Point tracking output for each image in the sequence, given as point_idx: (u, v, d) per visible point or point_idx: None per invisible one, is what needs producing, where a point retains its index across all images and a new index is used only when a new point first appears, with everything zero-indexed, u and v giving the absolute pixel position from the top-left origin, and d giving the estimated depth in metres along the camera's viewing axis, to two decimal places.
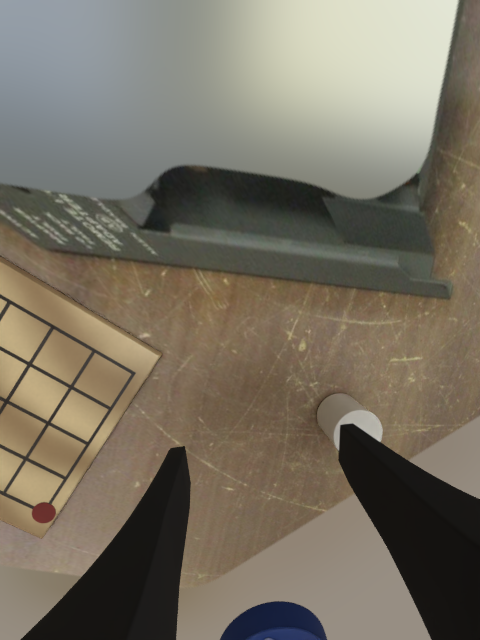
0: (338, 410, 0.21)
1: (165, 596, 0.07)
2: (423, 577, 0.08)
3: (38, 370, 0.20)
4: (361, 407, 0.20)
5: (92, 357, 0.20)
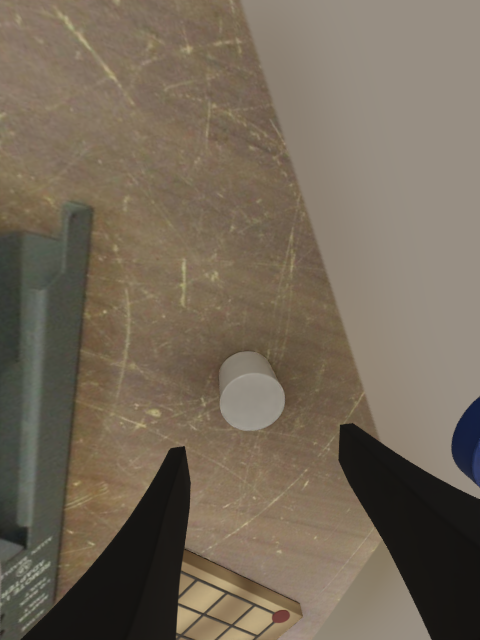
0: None
1: (165, 596, 0.07)
2: (422, 577, 0.08)
3: None
4: (221, 389, 0.16)
5: None
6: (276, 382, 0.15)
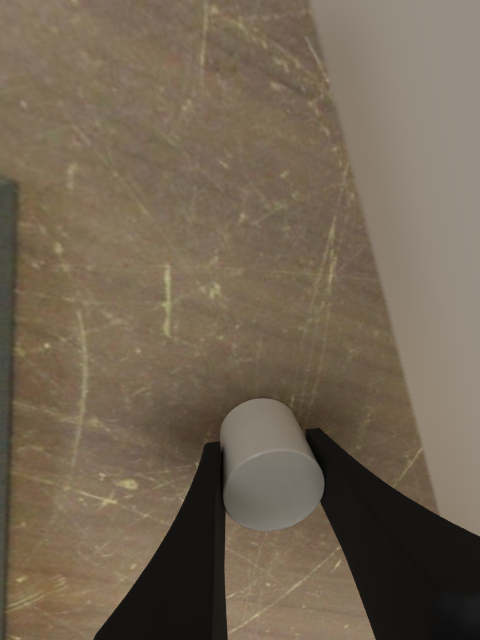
0: None
1: (221, 586, 0.07)
2: (371, 587, 0.07)
3: None
4: (225, 470, 0.10)
5: None
6: (312, 461, 0.10)
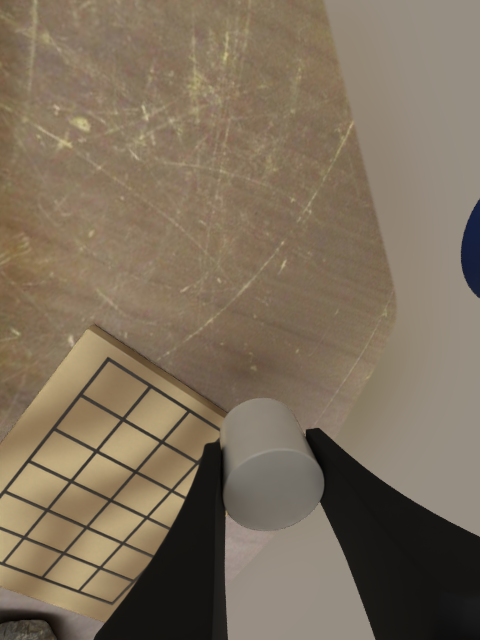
0: None
1: (221, 586, 0.07)
2: (371, 587, 0.07)
3: (103, 445, 0.19)
4: (224, 470, 0.10)
5: (88, 397, 0.18)
6: (312, 461, 0.10)
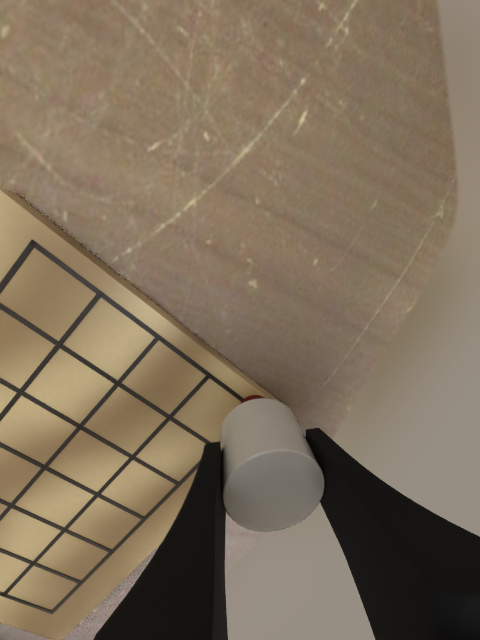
0: None
1: (221, 586, 0.07)
2: (371, 587, 0.07)
3: (31, 383, 0.13)
4: (225, 471, 0.10)
5: (4, 304, 0.12)
6: (312, 462, 0.10)
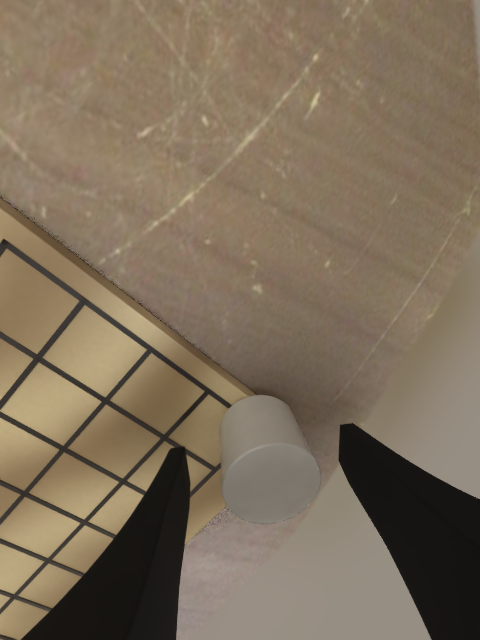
0: None
1: (165, 596, 0.07)
2: (422, 577, 0.08)
3: (6, 401, 0.12)
4: (224, 464, 0.10)
5: None
6: (309, 455, 0.10)
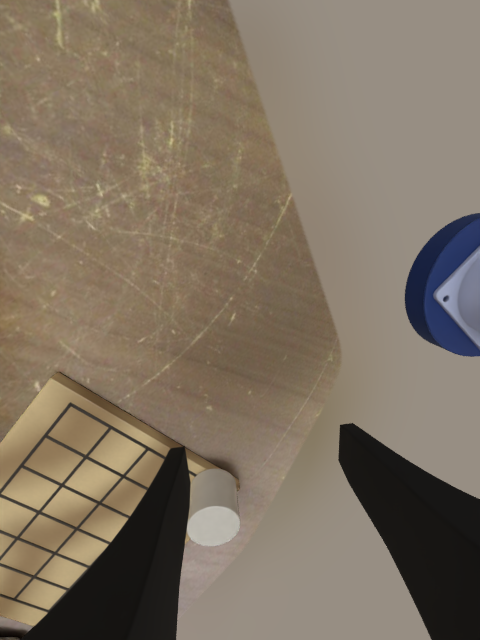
0: None
1: (165, 596, 0.07)
2: (422, 576, 0.08)
3: (68, 479, 0.21)
4: None
5: (53, 437, 0.20)
6: (231, 511, 0.19)
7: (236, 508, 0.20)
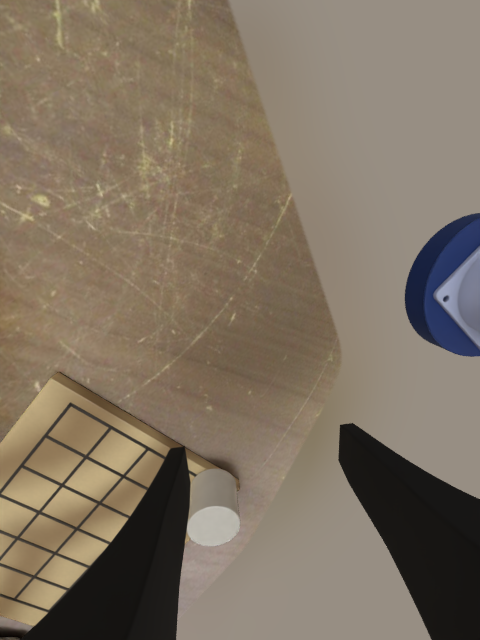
0: None
1: (165, 596, 0.07)
2: (423, 577, 0.08)
3: (68, 479, 0.21)
4: None
5: (53, 437, 0.20)
6: (231, 511, 0.19)
7: (236, 508, 0.20)
